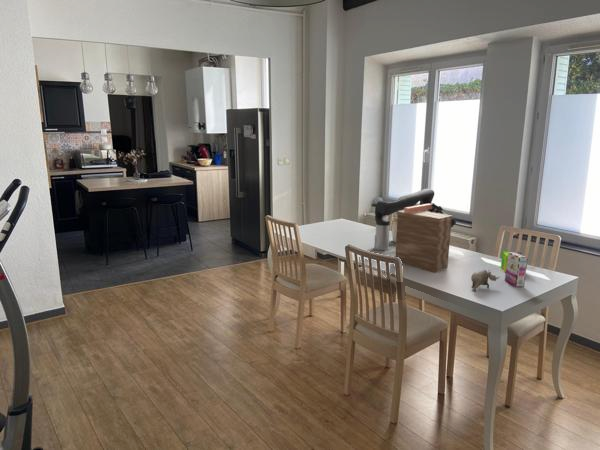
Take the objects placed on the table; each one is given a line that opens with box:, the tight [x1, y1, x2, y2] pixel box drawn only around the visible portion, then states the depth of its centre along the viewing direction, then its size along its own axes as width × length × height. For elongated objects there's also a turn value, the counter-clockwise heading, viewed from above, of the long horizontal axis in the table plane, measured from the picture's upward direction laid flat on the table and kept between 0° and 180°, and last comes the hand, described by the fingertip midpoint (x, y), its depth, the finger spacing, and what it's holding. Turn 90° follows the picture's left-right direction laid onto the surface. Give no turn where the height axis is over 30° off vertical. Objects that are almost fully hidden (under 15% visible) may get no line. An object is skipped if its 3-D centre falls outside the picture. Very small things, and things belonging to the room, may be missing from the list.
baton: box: [404, 204, 432, 213], centre depth 270 cm, size 26×3×3 cm, turn 132°
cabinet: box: [394, 210, 454, 273], centre depth 266 cm, size 15×29×32 cm, turn 42°
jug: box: [390, 210, 402, 243], centre depth 324 cm, size 15×16×25 cm
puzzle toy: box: [500, 251, 525, 273], centre depth 260 cm, size 10×10×10 cm
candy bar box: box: [504, 251, 529, 288], centre depth 235 cm, size 11×5×16 cm, turn 5°
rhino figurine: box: [471, 269, 501, 292], centre depth 230 cm, size 8×14×15 cm
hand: (426, 203), depth 275 cm, fingers open, 8 cm apart
